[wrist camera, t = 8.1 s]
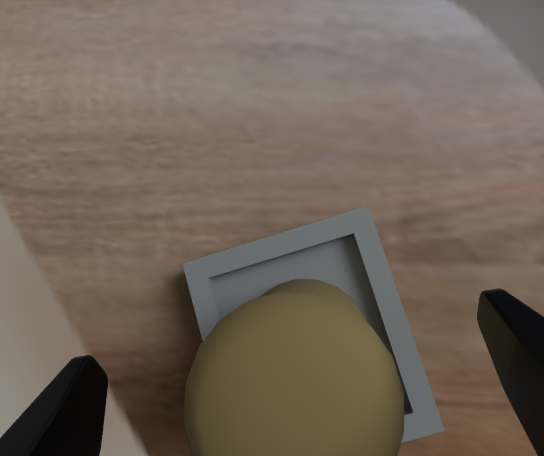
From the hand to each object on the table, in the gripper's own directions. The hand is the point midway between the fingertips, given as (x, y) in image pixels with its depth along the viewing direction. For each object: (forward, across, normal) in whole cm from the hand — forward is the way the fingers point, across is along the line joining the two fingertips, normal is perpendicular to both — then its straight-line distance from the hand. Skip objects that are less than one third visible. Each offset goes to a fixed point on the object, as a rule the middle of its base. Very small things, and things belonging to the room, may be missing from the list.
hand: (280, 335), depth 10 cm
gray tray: (+7, 0, +9) cm, 11 cm away
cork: (+6, 0, +8) cm, 10 cm away
